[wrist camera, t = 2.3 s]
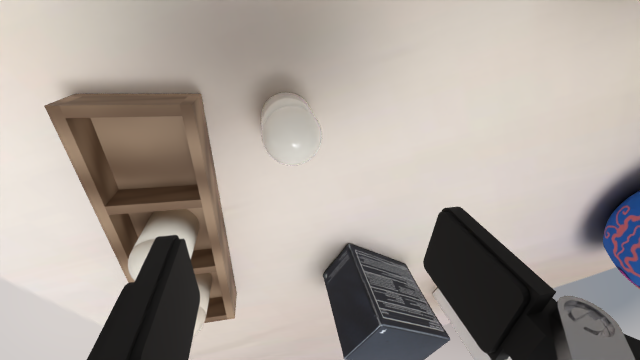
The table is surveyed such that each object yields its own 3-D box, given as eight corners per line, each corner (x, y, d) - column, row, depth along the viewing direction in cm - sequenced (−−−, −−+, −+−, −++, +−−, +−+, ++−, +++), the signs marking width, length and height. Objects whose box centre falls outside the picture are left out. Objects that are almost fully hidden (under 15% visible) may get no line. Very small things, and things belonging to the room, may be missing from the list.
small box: (319, 276, 35) (340, 363, 26) (347, 241, 32) (381, 323, 24) (378, 293, 39) (413, 372, 30) (407, 263, 37) (454, 339, 28)
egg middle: (142, 208, 24) (108, 264, 18) (195, 204, 25) (176, 256, 19) (155, 244, 26) (128, 304, 21) (203, 239, 27) (189, 295, 21)
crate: (75, 93, 19) (44, 105, 17) (201, 93, 21) (192, 104, 18) (161, 303, 31) (151, 331, 29) (236, 293, 33) (234, 318, 30)
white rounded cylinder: (259, 92, 22) (259, 115, 16) (312, 92, 23) (329, 114, 17) (262, 142, 24) (264, 178, 18) (310, 140, 25) (326, 174, 19)
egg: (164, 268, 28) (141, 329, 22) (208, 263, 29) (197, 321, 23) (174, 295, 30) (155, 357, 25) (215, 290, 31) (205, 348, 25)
